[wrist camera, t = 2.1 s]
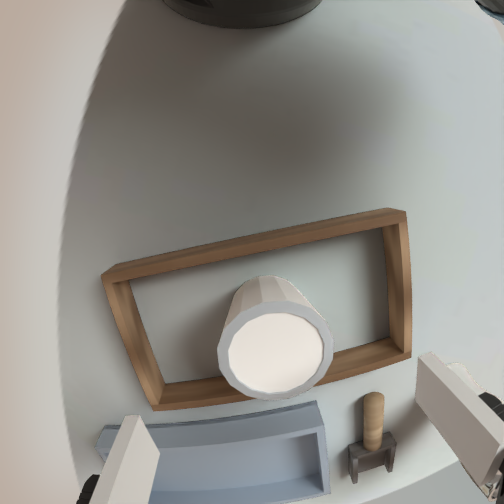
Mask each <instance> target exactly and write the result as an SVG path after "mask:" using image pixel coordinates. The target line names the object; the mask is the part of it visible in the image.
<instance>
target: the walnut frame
mask: <svg viewBox="0 0 504 504" xmlns="http://www.w3.org/2000/svg"><path fill="white" fill-rule="evenodd" d="M378 227H382V230H383V239H384V249H385V259H386V271H387V285H388V303H389V331H390V337H388V338H385V339H382V340H378V341H375V342H372V343H368V344H365V345H361V346H358V347H354V348H351V349H347V350H343V351H339V352H336V353H333V360H332V362H331V364H330V366H329V368H328V369H327V371H326V373H325V375H324V377H323V378H322V379H320V380H319V381H318V382H317V383H316V384H315V385H314V386H318V385H322V384H326V383H330V382H334V381H338V380H342V379H345V378H349V377H352V376H356V375H359V374H363V373H366V372H369V371H373V370H376V369H379V368H382V367H385V366H388V365H391V364H394V363H397V362H400V361H403V360H406V359H409V358H411V352H412V284H411V264H410V249H409V237H408V226H407V217H406V211H401V210H397V209H392V208H383V209H378V210H372V211H367V212H362V213H357V214H352V215H347V216H342V217H336V218H331V219H326V220H321V221H316V222H311V223H306V224H301V225H297V226H292V227H287V228H282V229H277V230H272V231H267V232H262V233H258V234H253V235H248V236H243V237H238V238H234V239H229V240H224V241H220V242H215V243H210V244H205V245H201V246H196V247H192V248H187V249H182V250H178V251H173V252H169V253H164V254H160V255H155V256H151V257H146V258H142V259H137V260H133V261H128V262H124V263H119V264H115V265H114V266H113V267H111V268H110V269H108V270H107V271H106V272H104V273H103V274H101V279H102V282H103V285H104V288H105V291H106V294H107V298H108V301H109V303H110V306H111V309H112V312H113V315H114V318H115V321H116V323H117V326H118V329H119V332H120V334H121V337H122V340H123V342H124V345H125V347H126V350H127V352H128V355H129V357H130V360H131V362H132V365H133V367H134V369H135V372H136V374H137V376H138V379H139V381H140V383H141V385H142V388H143V390H144V392H145V394H146V396H147V399H148V401H149V403H150V405H151V407H152V409H153V411H165V410H177V409H187V408H196V407H204V406H212V405H219V404H226V403H233V402H239V401H245V400H251V399H257V398H254V397H250V396H246V395H245V394H243V393H242V392H240V391H239V390H237V389H236V388H234V387H233V386H231V385H230V384H229V383H228V381H227V380H226V378H225V377H224V376H220V377H214V378H207V379H200V380H193V381H185V382H177V383H168V384H165V382H164V380H163V377H162V375H161V372H160V370H159V367H158V365H157V362H156V359H155V357H154V354H153V351H152V349H151V346H150V343H149V341H148V338H147V335H146V332H145V329H144V327H143V324H142V321H141V318H140V315H139V312H138V309H137V306H136V303H135V300H134V296H133V293H132V290H131V287H130V284H129V279H134V278H139V277H144V276H148V275H153V274H158V273H163V272H168V271H173V270H177V269H182V268H187V267H192V266H197V265H201V264H206V263H211V262H216V261H221V260H225V259H230V258H235V257H240V256H245V255H249V254H254V253H259V252H264V251H269V250H273V249H278V248H283V247H288V246H293V245H297V244H302V243H307V242H312V241H316V240H321V239H326V238H331V237H335V236H340V235H345V234H350V233H355V232H359V231H364V230H369V229H374V228H378ZM314 386H313V387H314Z"/></svg>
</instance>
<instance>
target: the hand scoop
mask: <svg viewBox="0 0 504 504" xmlns="http://www.w3.org/2000/svg"><path fill="white" fill-rule="evenodd" d="M363 408H364V430H363V441H361V442H357V443H354V444H351V445H349V474H350V476H351V479H352V482H353V484H355V483H357V481H358V473H359V472H363V471H366V470H369V469H372V468H375V467H378V466H381V465H385V467H386V469H387V471H388V473H389V472H392V469H393V463H394V456H395V449H396V442H395V440H394V438H393V437H392V435H391V433H390V432H388V433H385V434H382V433H383V417H384V395H383V394H381V393H379V392H371V393H369V394H367V395H366V396H365V397H364V399H363Z"/></svg>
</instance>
